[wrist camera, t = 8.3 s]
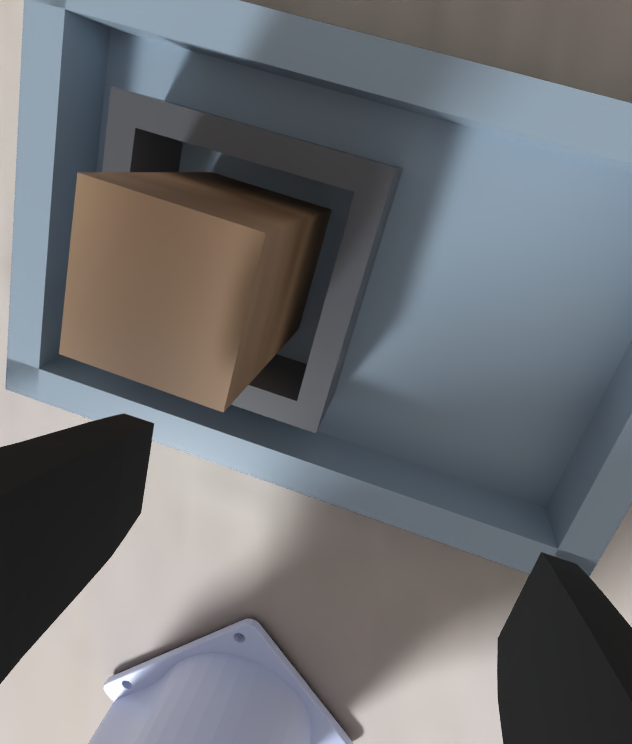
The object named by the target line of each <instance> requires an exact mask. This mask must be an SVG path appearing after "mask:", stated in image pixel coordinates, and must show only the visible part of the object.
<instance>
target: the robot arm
mask: <svg viewBox="0 0 632 744" xmlns="http://www.w3.org/2000/svg"><path fill="white" fill-rule="evenodd" d="M153 429H154V423H152V422H149V421H146V420H143V419H140V418H137V417H134V416H131V415H128V414H125V413H124V414H119V415H114V416H110V417H106V418H102V419H99V420H95V421H92V422H88V423H85V424H81V425H78V426H74V427H71V428H68V429H64V430H61V431H57V432H54V433H50V434H47V435H43V436H40V437H37V438H33V439H30V440H26V441H23V442H19V443H15V444H11V445H7V446H3V447H0V684H1V682H2V681H3V680H4V679H5V677H6V676H7V675H8V674H9V673H10V671H11V670H12V669H13V668H14V667H15V665H16V664H17V663H18V662H19V660H20V659H21V658H22V657H23V656H24V655H25V653H26V652H27V651H28V650H29V649H30V648H31V647H32V646H33V645H34V643H35V642H36V641H37V640H38V639H39V638H40V637H41V636H42V634H43V633H44V632H45V631H46V630H47V629H48V628H49V627H50V625H51V624H52V623H53V622H54V621H55V620H56V619H57V618H58V616H59V615H60V614H61V613H62V612H63V611H64V610H65V609H66V608H67V606H68V605H69V604H70V603H71V602H72V601H73V600H74V599H75V597H76V596H77V595H78V594H79V593H80V592H81V591H82V590H83V588H84V587H85V586H86V585H87V584H88V583H89V582H90V580H91V579H92V578H93V577H94V576H95V575H96V574H97V573H98V571H99V570H100V569H101V568H102V567H103V566H104V564H105V563H106V562H107V561H108V560H109V559H110V557H111V556H112V555H113V553H114V552H115V551H116V549H117V548H118V546H119V545H120V543H121V542H122V541H123V539H124V538H125V536H126V535H127V533H128V532H129V530H130V529H131V527H132V526H133V524H134V523H135V521H136V519H137V518H138V516H139V515H140V513H141V509H142V502H143V496H144V489H145V482H146V476H147V469H148V462H149V456H150V449H151V442H152V436H153ZM239 633H240V634H242V635H244V636H242V635H240V634H239ZM497 678H498V704H499V712H500V721H501V729H502V737H503V744H632V627H631V626H630V625H629V624H628V623H627V621H626V620H625V619H624V618H623V617H622V615H621V614H620V613H619V612H618V610H617V609H616V608H615V607H614V606H613V604H612V603H611V602H610V601H609V600H608V598H607V597H606V596H605V595H604V594H603V592H602V591H601V590H600V589H599V588H598V587H597V585H596V584H595V583H594V582H593V581H592V580H591V578H590V577H589V576H588V575H587V574H586V573H585V572H584V571H583V570H582V569H581V568H580V567H579V566H578V565H577V564H576V563H573V562H570V561H567V560H564V559H561V558H558V557H555V556H552V555H549V554H546V553H543V552H541V553H540V555H539V557H538V559H537V561H536V563H535V565H534V567H533V569H532V571H531V573H530V575H529V577H528V579H527V581H526V583H525V585H524V587H523V589H522V591H521V593H520V595H519V597H518V599H517V601H516V603H515V605H514V607H513V609H512V611H511V613H510V615H509V617H508V619H507V621H506V623H505V625H504V627H503V629H502V631H501V633H500V635H499V637H498V662H497ZM104 691H105V692H106V694H107V695H108V696H109V697H110V698H111V699H112V701H113V702H114V703H113V704H112V706H111V707H110V709H109V711H108V712H107V714H106V716H105V717H104V719H103V720H102V722H101V724H100V725H99V727H98V729H97V730H96V732H95V733H94V735H93V737H92V738H91V740H90V741H89V743H88V744H353V743H352V741H351V739H350V738H349V737H348V736H347V734H346V733H345V732H344V730H343V729H342V728H341V727H340V725H339V724H338V723H337V722H336V720H335V719H334V718H333V716H332V715H331V714H330V713H329V711H328V710H327V709H326V708H325V706H324V705H323V704H322V702H321V701H320V700H319V699H318V697H317V696H316V695H315V694H314V692H313V691H312V690H311V688H310V687H309V686H308V685H307V683H306V682H305V681H304V680H303V678H302V677H301V676H300V674H299V673H298V672H297V671H296V669H295V668H294V667H293V666H292V664H291V663H290V662H289V661H288V659H287V658H286V657H285V655H284V654H283V653H282V652H281V650H280V649H279V648H278V647H277V645H276V644H275V643H274V641H273V640H272V639H271V638H270V636H269V635H268V634H267V633H266V631H265V630H264V629H263V627H262V626H261V625H260V624H259V623H258V622H257V621H255V620H253V619H244V620H241V621H239V622H237V623H234V624H232V625H230V626H227V627H225V628H223V629H220V630H218V631H216V632H213V633H211V634H209V635H207V636H204V637H202V638H200V639H197V640H195V641H193V642H190V643H188V644H186V645H183V646H181V647H179V648H176V649H174V650H172V651H169V652H167V653H165V654H162V655H160V656H158V657H155V658H153V659H151V660H148V661H146V662H144V663H141V664H139V665H137V666H134V667H132V668H130V669H127V670H125V671H123V672H120V673H118V674H116V675H113V676H111V677H109V678H108V679H107V681H106V682H105V684H104Z"/></svg>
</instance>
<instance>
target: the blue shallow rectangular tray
mask: <svg viewBox="0 0 632 744" xmlns="http://www.w3.org/2000/svg"><path fill="white" fill-rule="evenodd" d="M77 172H213V173H216V174H219V175H222V176H226V177H229V178H232V179H235V180H238V181H242V182H245V183H248V184H251V185H254V186H258V187H261V188H264V189H267V190H270V191H274V192H277V193H280V194H283V195H286V196H290V197H293V198H296V199H299V200H302V201H306V202H309V203H312V204H315V205H318V206H321V207H325V208H328V209H331V210H332V211H331V215H330V218H329V222H328V225H327V229H326V233H325V236H324V240H323V243H322V247H321V251H320V254H319V258H318V261H317V265H316V269H315V272H314V276H313V279H312V283H311V287H310V290H309V294H308V297H307V301H306V305H305V308H304V312H303V315H302V319H301V323H300V326H299V329H298V330H297V331H296V333H295V334H294V335H293V336H292V337H291V338H290V339H289V340H288V341H287V343H286V344H285V345H284V346H283V347H282V348H281V349H280V350H279V351H278V353H277V354H276V355H275V356H274V357H273V358H272V359H271V360H270V361H269V363H268V364H267V365H266V366H265V367H264V368H263V369H262V370H261V371H260V373H259V374H258V375H257V376H256V377H255V378H254V379H253V380H252V381H251V383H250V384H249V385H248V386H247V387H246V388H245V389H244V390H243V391H242V393H241V394H240V395H239V396H238V397H237V398H236V399H235V400H234V401H233V403H232V404H231V405H230V406H229V407H228V408H227V409H226V410H225V411H224V413H223V412H220V411H218V410H215V409H212V408H209V407H206V406H204V405H201V404H198V403H195V402H192V401H189V400H187V399H184V398H181V397H178V396H175V395H173V394H170V393H167V392H164V391H161V390H159V389H156V388H153V387H150V386H147V385H145V384H142V383H139V382H136V381H133V380H131V379H128V378H125V377H122V376H119V375H117V374H114V373H111V372H108V371H105V370H103V369H100V368H97V367H94V366H91V365H89V364H86V363H83V362H80V361H77V360H74V359H72V358H69V357H66V356H63V355H60V354H59V349H60V339H61V330H62V320H63V310H64V300H65V290H66V280H67V270H68V260H69V250H70V240H71V231H72V221H73V211H74V201H75V191H76V181H77ZM6 389H7V390H10V391H12V392H15V393H18V394H21V395H24V396H27V397H29V398H32V399H35V400H38V401H41V402H44V403H46V404H49V405H52V406H55V407H58V408H61V409H63V410H66V411H69V412H72V413H75V414H78V415H80V416H83V417H86V418H89V419H92V420H99V419H102V418H106V417H110V416H114V415H119V414H124V413H125V414H128V415H131V416H134V417H137V418H140V419H143V420H146V421H149V422H152V423H154V429H153V436H152V441H154V442H157V443H160V444H163V445H165V446H168V447H171V448H174V449H177V450H180V451H182V452H185V453H188V454H191V455H194V456H196V457H199V458H202V459H205V460H208V461H211V462H213V463H216V464H219V465H222V466H225V467H228V468H230V469H233V470H236V471H239V472H242V473H245V474H247V475H250V476H253V477H256V478H259V479H262V480H264V481H267V482H270V483H273V484H276V485H279V486H281V487H284V488H287V489H290V490H293V491H296V492H298V493H301V494H304V495H307V496H310V497H313V498H315V499H318V500H321V501H324V502H327V503H330V504H332V505H335V506H338V507H341V508H344V509H347V510H349V511H352V512H355V513H358V514H361V515H364V516H366V517H369V518H372V519H375V520H378V521H381V522H383V523H386V524H389V525H392V526H395V527H398V528H400V529H403V530H406V531H409V532H412V533H415V534H417V535H420V536H423V537H426V538H429V539H432V540H434V541H437V542H440V543H443V544H446V545H449V546H451V547H454V548H457V549H460V550H463V551H465V552H468V553H471V554H474V555H477V556H480V557H482V558H485V559H488V560H491V561H494V562H497V563H499V564H502V565H505V566H508V567H511V568H514V569H516V570H519V571H522V572H525V573H528V574H530V573H531V571H532V569H533V567H534V565H535V563H536V561H537V559H538V557H539V555H540V553H541V552H543V553H546V554H549V555H552V556H555V557H558V558H561V559H564V560H567V561H570V562H573V563H576V564H577V565H578V566H579V567H580V568H581V569H582V570H583V571H584V572H585V573H586V574H587V575H588V576H590V574H591V573H592V571H593V569H594V567H595V566H596V564H597V562H598V561H599V559H600V557H601V555H602V554H603V552H604V550H605V549H606V547H607V545H608V543H609V542H610V540H611V538H612V537H613V535H614V533H615V531H616V530H617V528H618V526H619V525H620V523H621V521H622V519H623V518H624V516H625V514H626V513H627V511H628V509H629V508H630V506H631V504H632V103H629V102H625V101H621V100H617V99H614V98H610V97H606V96H602V95H598V94H594V93H591V92H587V91H583V90H579V89H575V88H572V87H568V86H564V85H560V84H556V83H553V82H549V81H545V80H541V79H537V78H534V77H530V76H526V75H522V74H518V73H514V72H511V71H507V70H503V69H499V68H495V67H492V66H488V65H484V64H480V63H476V62H473V61H469V60H465V59H461V58H457V57H454V56H450V55H446V54H442V53H438V52H434V51H431V50H427V49H423V48H419V47H415V46H412V45H408V44H404V43H400V42H396V41H393V40H389V39H385V38H381V37H377V36H374V35H370V34H366V33H362V32H358V31H354V30H351V29H347V28H343V27H339V26H335V25H332V24H328V23H324V22H320V21H316V20H313V19H309V18H305V17H301V16H297V15H294V14H290V13H286V12H282V11H278V10H274V9H271V8H267V7H263V6H259V5H255V4H252V3H248V2H244V1H240V0H24V13H23V34H22V55H21V76H20V96H19V117H18V138H17V159H16V180H15V201H14V222H13V243H12V264H11V284H10V305H9V326H8V347H7V368H6Z"/></svg>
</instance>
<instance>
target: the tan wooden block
mask: <svg viewBox="0 0 632 744" xmlns="http://www.w3.org/2000/svg"><path fill="white" fill-rule="evenodd" d="M331 211H332V210H331V209H328V208H325V207H321V206H318V205H315V204H312V203H309V202H306V201H302V200H299V199H296V198H293V197H290V196H286V195H283V194H280V193H277V192H274V191H270V190H267V189H264V188H261V187H258V186H254V185H251V184H248V183H245V182H242V181H238V180H235V179H232V178H229V177H226V176H222V175H219V174H216V173H213V172H77V181H76V191H75V201H74V211H73V221H72V231H71V240H70V250H69V260H68V270H67V280H66V290H65V300H64V310H63V320H62V330H61V339H60V349H59V354H60V355H63V356H66V357H69V358H72V359H74V360H77V361H80V362H83V363H86V364H89V365H91V366H94V367H97V368H100V369H103V370H105V371H108V372H111V373H114V374H117V375H119V376H122V377H125V378H128V379H131V380H133V381H136V382H139V383H142V384H145V385H147V386H150V387H153V388H156V389H159V390H161V391H164V392H167V393H170V394H173V395H175V396H178V397H181V398H184V399H187V400H189V401H192V402H195V403H198V404H201V405H204V406H206V407H209V408H212V409H215V410H218V411H220V412H223V413H224V411H225V410H226V409H227V408H228V407H229V406H230V405H231V404H232V403H233V401H234V400H235V399H236V398H237V397H238V396H239V395H240V394H241V393H242V391H243V390H244V389H245V388H246V387H247V386H248V385H249V384H250V383H251V381H252V380H253V379H254V378H255V377H256V376H257V375H258V374H259V373H260V371H261V370H262V369H263V368H264V367H265V366H266V365H267V364H268V363H269V361H270V360H271V359H272V358H273V357H274V356H275V355H276V354H277V353H278V351H279V350H280V349H281V348H282V347H283V346H284V345H285V344H286V343H287V341H288V340H289V339H290V338H291V337H292V336H293V335H294V334H295V333H296V331H297V330H298V329H299V326H300V323H301V319H302V315H303V312H304V308H305V305H306V301H307V297H308V294H309V290H310V287H311V283H312V279H313V276H314V272H315V269H316V265H317V261H318V258H319V254H320V251H321V247H322V243H323V240H324V236H325V233H326V229H327V225H328V222H329V218H330V215H331Z"/></svg>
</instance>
